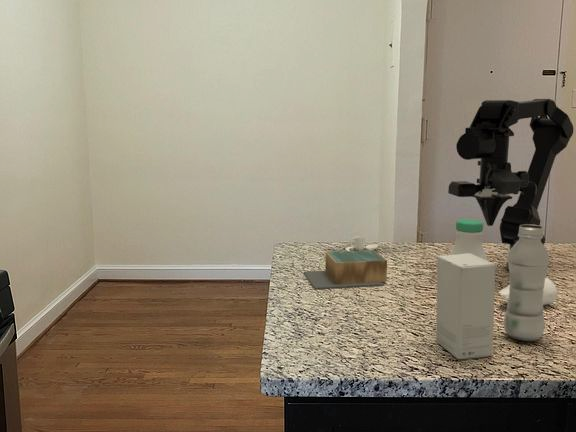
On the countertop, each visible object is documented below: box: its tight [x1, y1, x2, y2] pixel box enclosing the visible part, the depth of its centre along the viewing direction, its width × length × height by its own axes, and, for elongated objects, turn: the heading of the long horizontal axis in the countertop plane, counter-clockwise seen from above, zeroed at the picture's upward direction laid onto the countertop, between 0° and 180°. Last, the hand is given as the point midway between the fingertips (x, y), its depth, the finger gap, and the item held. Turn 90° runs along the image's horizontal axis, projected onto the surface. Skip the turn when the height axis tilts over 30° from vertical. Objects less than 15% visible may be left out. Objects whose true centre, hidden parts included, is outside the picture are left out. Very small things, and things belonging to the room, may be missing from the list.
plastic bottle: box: [503, 224, 550, 342], centre depth 101 cm, size 6×7×20 cm
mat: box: [303, 270, 385, 290], centre depth 137 cm, size 16×13×1 cm
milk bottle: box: [448, 218, 489, 261], centre depth 106 cm, size 8×8×20 cm
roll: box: [498, 277, 558, 306], centre depth 118 cm, size 6×12×6 cm, turn 110°
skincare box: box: [435, 253, 497, 360], centre depth 97 cm, size 8×7×16 cm
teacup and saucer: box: [345, 235, 379, 251], centre depth 164 cm, size 9×8×4 cm
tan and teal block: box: [324, 249, 388, 284], centre depth 137 cm, size 5×10×12 cm
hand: (489, 225), depth 134 cm, fingers closed
